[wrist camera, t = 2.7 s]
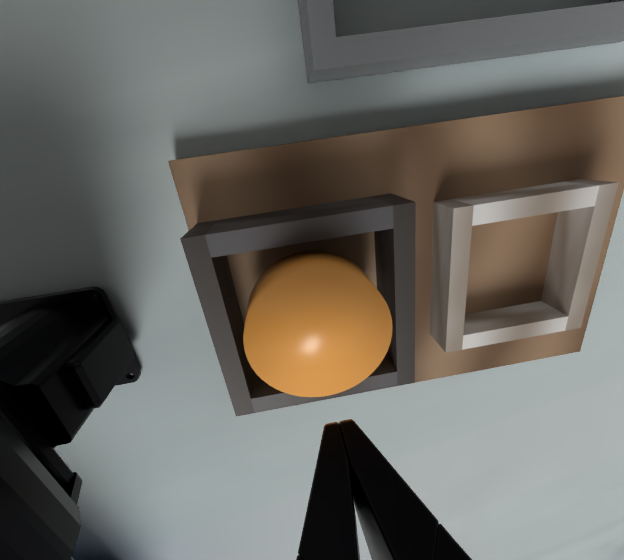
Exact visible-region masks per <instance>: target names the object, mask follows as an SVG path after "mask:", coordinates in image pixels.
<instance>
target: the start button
mask: <svg viewBox="0 0 624 560" xmlns="http://www.w3.org/2000/svg"><path fill="white" fill-rule="evenodd" d="M392 327H393V326H392V317H391V314H390V310H389V308H388V305H387V303H386V301H385V300H384V298H383V297H382V295H381V294H380V292H379V291H378V290H377V288H376V287H375V286H374V284H373V283H372V282H371V280H370V279H369V278H368V276H367V275H366V274H365V272H364V271H363V270H362V269H361V268H360V267H359V266H358V265H357V264H355V263H354V262H353V261H351V260H350V259H348V258H346V257H344V256H342V255H339V254H336V253H333V252H328V251H320V250H311V251H303V252H298V253H294V254H292V255H289V256H286V257H284V258H282V259H280V260H278V261H277V262H276V263H274V264H273V265H271V266H270V267H269V268H268V269H267V270H266V271H265V272H264V273H263V274H262V275H261V276H260V277H259V279H258V280H257V282H256V283H255V285H254V287H253V289H252V292H251V295H250V298H249V303H248V309H247V315H246V321H245V326H244V334H243V344H244V349H245V354H246V357H247V359H248V362H249V363H250V365H251V367H252V369H253V370H254V371H255V373H256V374H257V375H258V376H259V377H260V378H261V379H262V380H263V381H264V382H266V383H267V384H268V385H270V386H272V387H273V388H275V389H277V390H279V391H282V392H284V393H287V394H290V395H295V396H300V397H323V396H329V395H333V394H337V393H340V392H343V391H346V390H348V389H350V388H352V387H354V386H356V385H357V384H359V383H361V382H362V381H363V380H365V379H366V378H367V377H368V376H370V375H371V374H372V373H373V372H374V371H375V370H376V368H377V367H378V366H379V365H380V363H381V362H382V360H383V359H384V357H385V355H386V353H387V351H388V349H389V346H390V343H391V338H392Z"/></svg>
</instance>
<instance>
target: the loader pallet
mask: <svg viewBox="0 0 624 560" xmlns="http://www.w3.org/2000/svg"><path fill="white" fill-rule="evenodd" d="M168 162H169V166H170V169H171V172H172V176H173V179H174V182H175V186H176V189H177V192H178V196H179V199H180V202H181V206H182V209H183V212H184V216H185V219H186V222H187V226H188V229H189V231H188V232H187V233H186V234H185V235H184V236H183V237H182V238H181V242H182V245H183V248H184V252H185V255H186V258H187V261H188V264H189V268H190V271H191V274H192V277H193V280H194V283H195V287H196V290H197V293H198V296H199V299H200V303H201V306H202V309H203V312H204V315H205V318H206V322H207V325H208V328H209V331H210V334H211V338H212V341H213V344H214V347H215V350H216V353H217V357H218V360H219V363H220V366H221V369H222V372H223V376H224V379H225V382H226V385H227V388H228V392H229V395H230V398H231V401H232V404H233V407H234V411H235V414H236V416H241V415H246V414H251V413H256V412H262V411H267V410H272V409H278V408H283V407H288V406H293V405H299V404H304V403H309V402H315V401H320V400H325V399H330V398H336V397H341V396H346V395H352V394H357V393H362V392H367V391H373V390H378V389H383V388H389V387H394V386H399V385H404V384H410V383H415V382H420V381H425V380H431V379H436V378H441V377H446V376H452V375H457V374H462V373H468V372H473V371H478V370H483V369H489V368H494V367H499V366H505V365H510V364H515V363H520V362H526V361H531V360H536V359H542V358H547V357H552V356H557V355H563V354H568V353H573V352H578V351H580V349H581V345H582V342H583V338H584V334H585V331H586V327H587V323H588V319H589V316H590V312H591V308H592V305H593V301H594V297H595V294H596V290H597V286H598V282H599V279H600V275H601V271H602V268H603V264H604V260H605V257H606V253H607V249H608V245H609V242H610V238H611V234H612V231H613V227H614V223H615V220H616V216H617V212H618V208H619V205H620V201H621V197H622V194H623V190H624V96H620V97H613V98H606V99H599V100H592V101H585V102H578V103H571V104H564V105H557V106H550V107H543V108H536V109H529V110H522V111H515V112H508V113H501V114H494V115H487V116H480V117H473V118H466V119H459V120H452V121H445V122H437V123H430V124H423V125H416V126H409V127H402V128H395V129H388V130H381V131H374V132H367V133H360V134H353V135H346V136H339V137H332V138H325V139H318V140H311V141H304V142H297V143H290V144H283V145H276V146H269V147H262V148H255V149H248V150H241V151H234V152H227V153H220V154H213V155H206V156H199V157H192V158H185V159H178V160H171V161H168ZM311 250H320V251H328V252H333V253H336V254H339V255H342V256H344V257H346V258H348V259H350V260H351V261H353V262H354V263H355V264H357V265H358V266H359V267H360V268H361V269H362V270H363V271H364V272H365V274H366V275H367V276H368V278H369V279H370V280H371V282H372V283H373V284H374V286H375V287H376V288H377V290H378V291H379V292H380V294H381V295H382V297H383V298H384V300H385V301H386V303H387V305H388V308H389V310H390V314H391V317H392V326H393V327H392V338H391V343H390V346H389V349H388V351H387V353H386V355H385V357H384V359H383V360H382V362H381V363H380V365H379V366H378V367H377V368H376V370H375V371H374V372H373V373H372V374H371V375H370V376H368V377H367V378H366V379H365V380H363V381H362V382H361V383H359V384H357V385H356V386H354V387H352V388H350V389H348V390H346V391H343V392H340V393H337V394H333V395H329V396H323V397H300V396H295V395H290V394H287V393H284V392H282V391H279V390H277V389H275V388H273V387H272V386H270V385H268V384H267V383H266V382H264V381H263V380H262V379H261V378H260V377H259V376H258V375H257V374H256V373H255V371H254V370H253V369H252V367H251V365H250V363H249V362H248V359H247V357H246V354H245V349H244V344H243V334H244V326H245V321H246V315H247V309H248V303H249V298H250V295H251V292H252V289H253V287H254V285H255V283H256V282H257V280H258V279H259V277H260V276H261V275H262V274H263V273H264V272H265V271H266V270H267V269H268V268H269V267H270V266H271V265H273V264H274V263H276V262H277V261H278V260H280V259H282V258H284V257H286V256H289V255H292V254H294V253H298V252H303V251H311Z"/></svg>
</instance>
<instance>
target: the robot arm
mask: <svg viewBox="0 0 624 560" xmlns="http://www.w3.org/2000/svg"><path fill="white" fill-rule="evenodd" d="M92 294H95V295H96V296H97V297H98V299H96V298H94V297H93V296H92ZM134 356H135V353H134V351H133V349H132V346H131V344H130V342H129V340H128V337H127V335H126V333H125V331H124V329H123V326H122V324H121V322H120V321H119V320H118V319H117V317H116V315H115V312H114V310H113V308H112V306H111V303H110V301H109V299H108V297H107V295H106V293H105V291H104V290H103V289H101V288H99V287H89V288H82V289H76V290H70V291H64V292H58V293H52V294H46V295H39V296H33V297H27V298H21V299H15V300H9V301H2V302H0V560H74V558H73V557H72V554H73V552H74V548H75V545H76V541H77V537H78V534H79V530H80V526H81V524H80V515H79V507H78V506H77V502H78V498H79V493H80V489H81V485H82V479H81V478H80V477H79V475H78V474H77V473H76V472H72V471H71V470H70V469H69V467H68V466H67V465H66V464H65V462H64V461H63V460H62V459H61V457H60V456H59V455H58V454H57V453H56V451H55V450H54V448H55V447H56V446H57V445H62V444H67V443H70V442H71V441H72V439H73V438H74V436H75V435H76V433H77V432H78V431H79V429H80V428H81V426H82V425H83V423H84V422H85V421H86V419H87V418H88V416H89V415H90V413H91V412H92V411H93V409H94V408H99V407H100V406H101V405H102V404H103V402H104V401H105V399H106V398H107V396H108V395H109V393H110V392H111V390H112V389H113V387H114V386H115V385H121V384H126V383H132V382H135V381H137V380H138V378H139V376H140V374H141V370H140V368H139V366H138V364H137V361H136V359H135V357H134ZM129 373H132V374H133V375H131V374H129ZM354 504H355V508H356V511H357V515H358V518H359V521H360V524H361V527H362V530H363V533H364V536H365V539H366V542H367V545H368V549H369V552H370V555H371V558H372V560H472V559H471V558H470V557H469V556H468V555H467V553H466V552H465V551H464V550H463V549H462V548H461V547H460V546H459V544H458V543H457V542H456V541H455V540H454V539H453V538H452V536H451V535H450V534H449V533H448V532H447V530H446V529H445V528H444V527H443V526H442V525H441V524H439V522H438V520H437V519H436V518H435V516H434V515H433V514H432V513H431V512H430V511H429V509H428V508H427V507H426V506H425V505H424V503H423V502H422V501H421V500H420V499H419V498H418V496H417V495H416V494H415V493H414V492H413V490H412V489H411V488H410V487H409V486H408V484H407V483H406V482H405V481H404V480H403V479H402V477H401V476H400V475H399V474H398V473H397V471H396V470H395V469H394V468H393V467H392V466H391V464H390V463H389V462H388V461H387V460H386V458H385V457H384V456H383V455H382V454H381V452H380V451H379V450H378V449H377V448H376V447H375V445H374V444H373V443H372V442H371V441H370V439H369V438H368V437H367V436H366V435H365V433H364V432H363V431H362V430H361V429H360V428H359V426H358V425H357V424H356V423H355V422H354V421H353V420H352V419H349V420H344V421H340V422H339V423H337V422H334V423H329V424H326V425H325V426H324V430H323V435H322V440H321V445H320V450H319V454H318V459H317V464H316V469H315V474H314V478H313V483H312V488H311V493H310V498H309V502H308V507H307V512H306V517H305V522H304V526H303V531H302V536H301V541H300V546H299V550H298V554H299V555H298V556H297V559H296V560H360V554H359V545H358V535H357V526H356V516H355V508H354ZM438 524H439V525H438Z"/></svg>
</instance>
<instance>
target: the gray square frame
mask: <svg viewBox="0 0 624 560" xmlns="http://www.w3.org/2000/svg"><path fill="white" fill-rule="evenodd" d="M298 4H299V13H300V21H301V30H302V38H303V47H304V55H305V64H306V73H307V81H308V83H314V82H321V81H329V80H336V79H344V78H351V77H359V76H367V75H374V74H382V73H389V72H397V71H404V70H412V69H419V68H427V67H435V66H442V65H450V64H457V63H465V62H472V61H480V60H487V59H495V58H503V57H510V56H518V55H525V54H533V53H540V52H548V51H555V50H563V49H571V48H578V47H586V46H593V45H601V44H608V43H616V42H622V41H624V0H611V1H610V3H604V4H596V5H588V6H580V7H572V8H564V9H556V10H548V11H540V12H532V13H524V14H516V15H508V16H500V17H492V18H484V19H476V20H468V21H460V22H452V23H444V24H436V25H428V26H420V27H412V28H404V29H396V30H388V31H380V32H372V33H364V34H356V35H347V36H339V37H336V30H335V18H334V6H333V0H298Z"/></svg>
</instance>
